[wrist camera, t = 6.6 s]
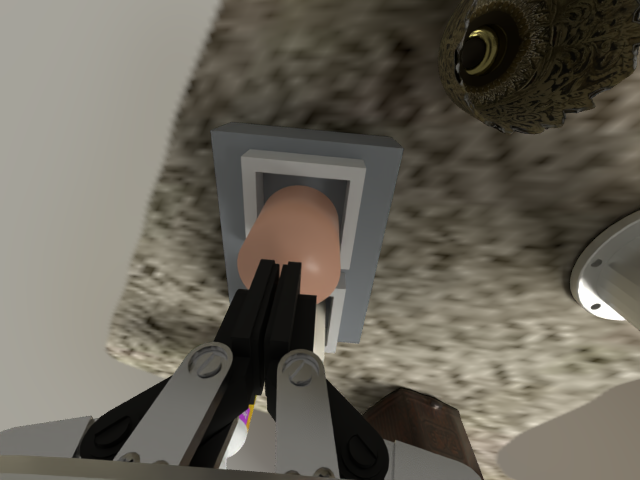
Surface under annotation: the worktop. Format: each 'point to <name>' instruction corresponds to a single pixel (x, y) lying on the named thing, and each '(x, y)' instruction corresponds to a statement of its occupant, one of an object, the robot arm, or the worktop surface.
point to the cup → (538, 58)
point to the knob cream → (320, 330)
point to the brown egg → (296, 239)
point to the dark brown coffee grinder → (422, 425)
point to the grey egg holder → (323, 175)
